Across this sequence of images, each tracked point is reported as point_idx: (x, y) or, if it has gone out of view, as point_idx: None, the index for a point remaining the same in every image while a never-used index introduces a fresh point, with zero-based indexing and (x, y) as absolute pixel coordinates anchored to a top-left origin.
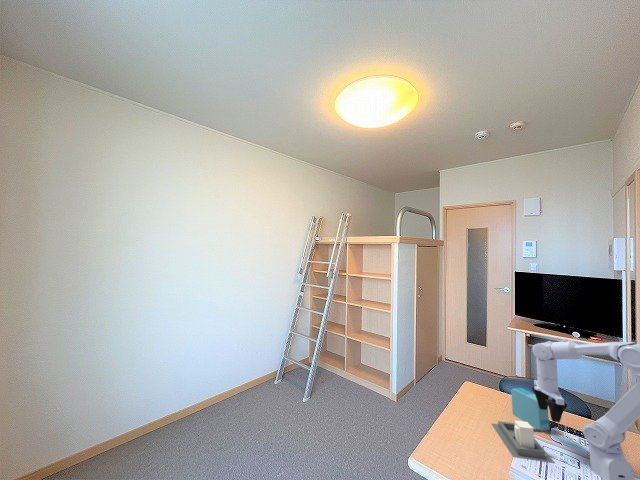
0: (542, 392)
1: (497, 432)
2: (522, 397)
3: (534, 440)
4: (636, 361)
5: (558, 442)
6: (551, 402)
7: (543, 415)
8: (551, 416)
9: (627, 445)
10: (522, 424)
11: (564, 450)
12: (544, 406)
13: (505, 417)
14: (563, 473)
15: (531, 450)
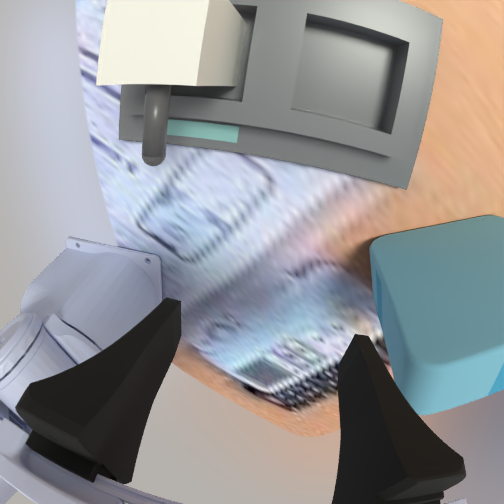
0: (359, 489)
1: None
2: None
3: (224, 119)
4: None
5: (301, 271)
6: (21, 415)
7: (387, 322)
8: (151, 316)
9: (284, 421)
10: (143, 21)
11: (244, 253)
12: (345, 375)
13: (500, 168)
14: (95, 143)
15: None
